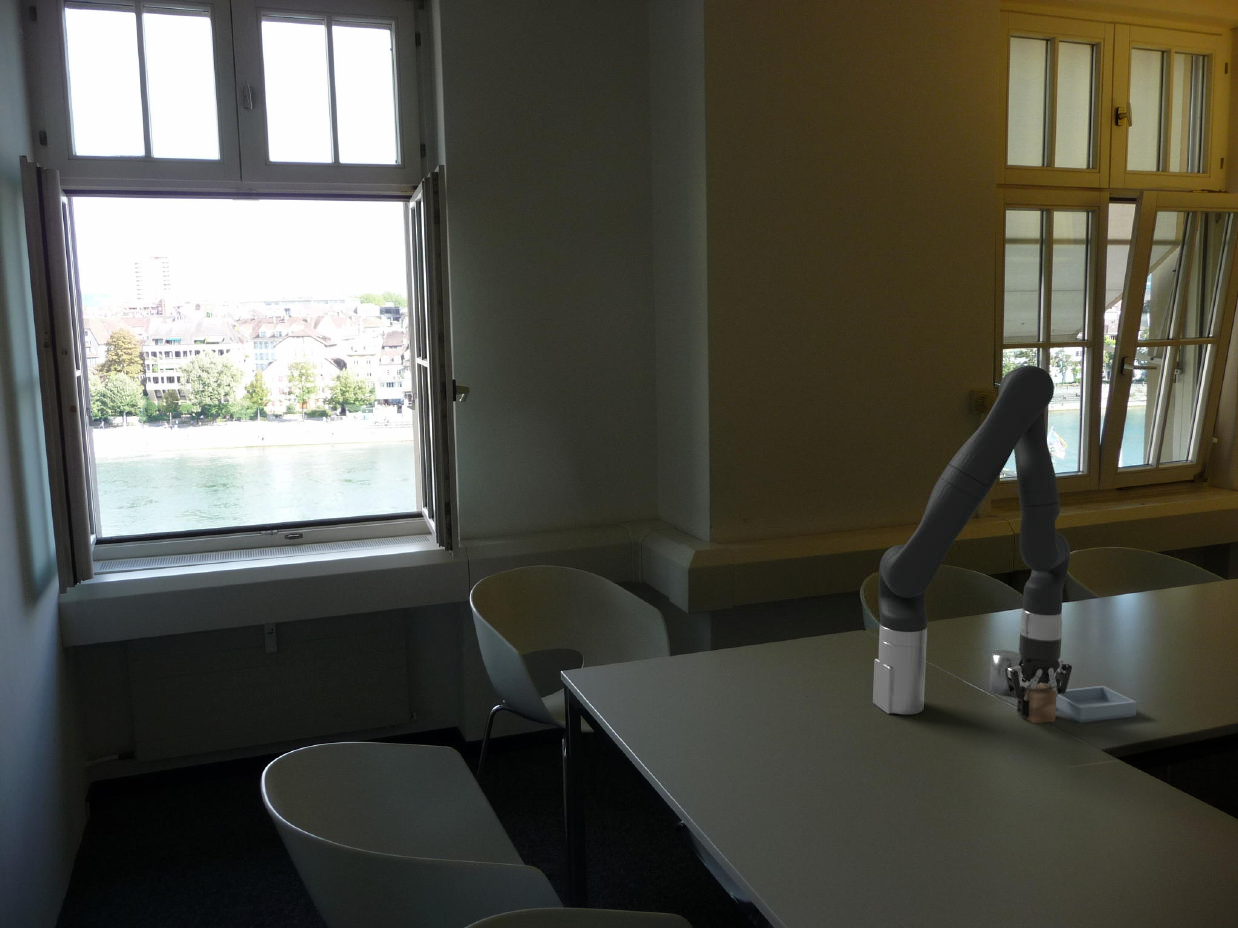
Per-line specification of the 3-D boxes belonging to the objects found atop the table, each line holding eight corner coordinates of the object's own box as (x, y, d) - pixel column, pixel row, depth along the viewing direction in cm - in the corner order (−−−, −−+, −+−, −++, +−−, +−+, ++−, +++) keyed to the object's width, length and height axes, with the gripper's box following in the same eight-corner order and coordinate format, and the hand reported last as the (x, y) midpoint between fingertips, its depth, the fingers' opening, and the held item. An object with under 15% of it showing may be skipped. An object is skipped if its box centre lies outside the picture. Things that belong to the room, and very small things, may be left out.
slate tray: (1080, 722, 186) (1081, 708, 186) (1048, 705, 195) (1049, 691, 194) (1135, 716, 189) (1137, 701, 189) (1102, 699, 198) (1103, 685, 198)
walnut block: (1033, 723, 186) (1034, 694, 185) (1016, 713, 191) (1018, 684, 190) (1055, 720, 187) (1056, 691, 186) (1038, 711, 192) (1040, 682, 191)
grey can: (1001, 696, 200) (1003, 660, 198) (983, 686, 205) (985, 651, 204) (1026, 694, 201) (1028, 657, 200) (1008, 684, 207) (1009, 648, 206)
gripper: (1021, 641, 181) (1016, 726, 184) (1085, 635, 185) (1080, 718, 187) (996, 629, 189) (992, 711, 191) (1059, 624, 192) (1054, 704, 194)
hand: (1035, 714), depth 189 cm, fingers closed on walnut block, 5 cm apart
